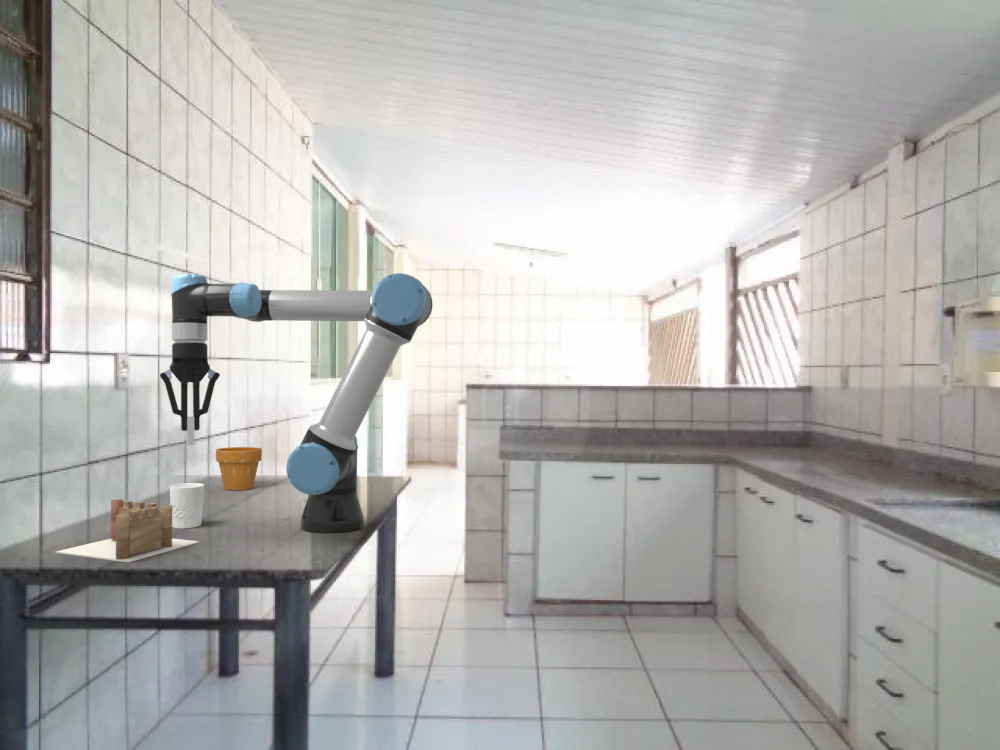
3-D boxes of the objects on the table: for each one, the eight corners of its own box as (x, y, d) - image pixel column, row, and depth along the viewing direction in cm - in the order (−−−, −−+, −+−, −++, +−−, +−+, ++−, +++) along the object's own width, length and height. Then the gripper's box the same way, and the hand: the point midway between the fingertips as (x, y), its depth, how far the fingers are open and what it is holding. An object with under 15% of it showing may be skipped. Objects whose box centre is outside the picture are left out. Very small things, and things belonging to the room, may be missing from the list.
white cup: (191, 530, 178) (191, 488, 178) (161, 528, 179) (162, 487, 179) (210, 523, 186) (210, 483, 186) (182, 522, 187) (182, 482, 187)
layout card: (199, 542, 164) (199, 540, 164) (128, 562, 147) (128, 560, 147) (130, 535, 171) (130, 533, 171) (55, 553, 154) (55, 551, 154)
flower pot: (228, 484, 251) (228, 446, 251) (268, 486, 249) (268, 447, 249) (207, 491, 237) (207, 450, 237) (250, 492, 235) (250, 451, 235)
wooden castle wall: (174, 547, 160) (174, 504, 160) (121, 561, 147) (122, 515, 147) (165, 546, 161) (166, 503, 161) (112, 560, 148) (113, 514, 148)
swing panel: (117, 537, 166) (117, 499, 166) (163, 542, 161) (163, 503, 161) (108, 539, 164) (108, 500, 164) (154, 544, 159) (154, 505, 159)
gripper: (218, 343, 177) (218, 442, 177) (158, 342, 171) (158, 445, 171) (221, 342, 170) (222, 445, 170) (159, 341, 164) (160, 447, 164)
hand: (190, 445), depth 171 cm, fingers closed
